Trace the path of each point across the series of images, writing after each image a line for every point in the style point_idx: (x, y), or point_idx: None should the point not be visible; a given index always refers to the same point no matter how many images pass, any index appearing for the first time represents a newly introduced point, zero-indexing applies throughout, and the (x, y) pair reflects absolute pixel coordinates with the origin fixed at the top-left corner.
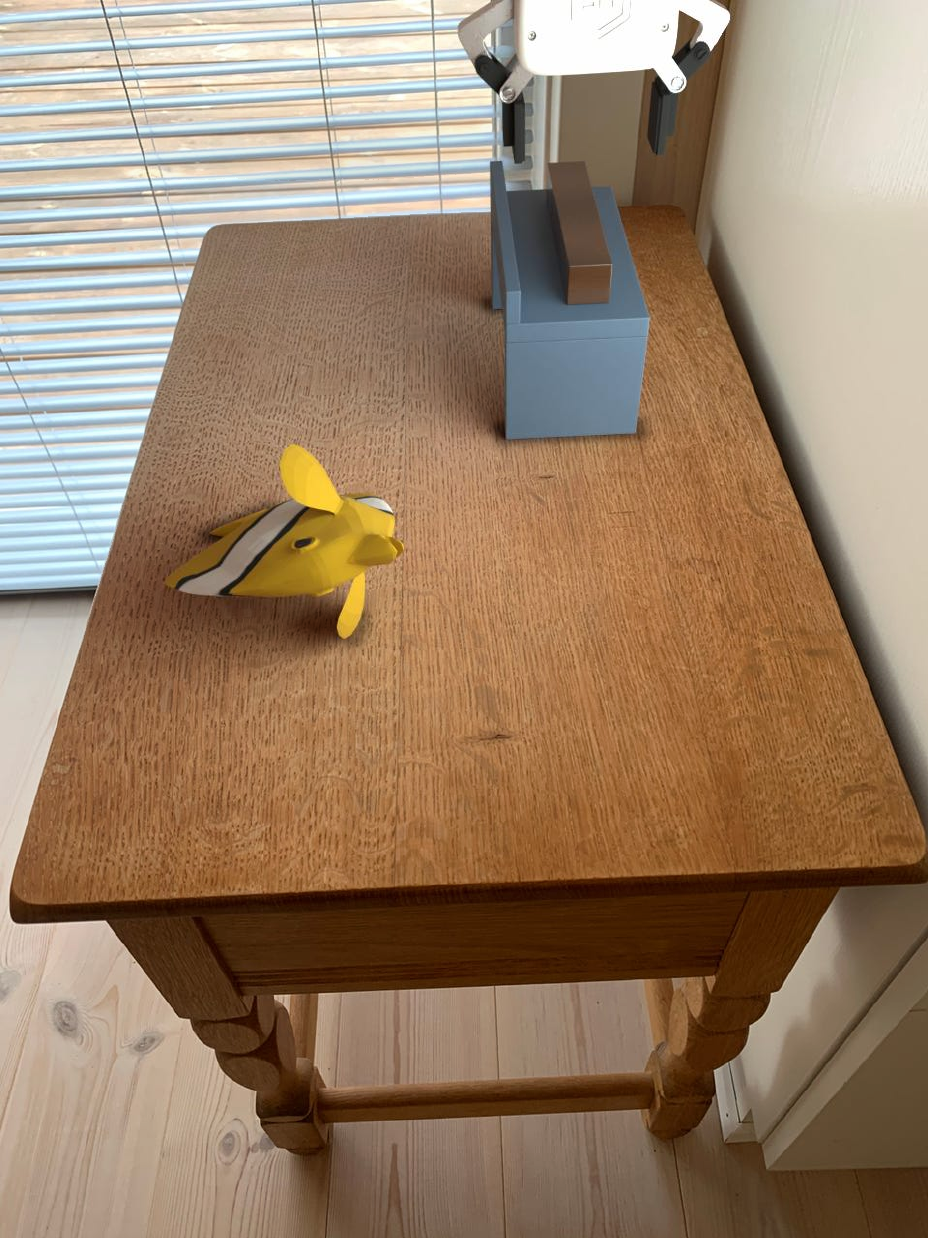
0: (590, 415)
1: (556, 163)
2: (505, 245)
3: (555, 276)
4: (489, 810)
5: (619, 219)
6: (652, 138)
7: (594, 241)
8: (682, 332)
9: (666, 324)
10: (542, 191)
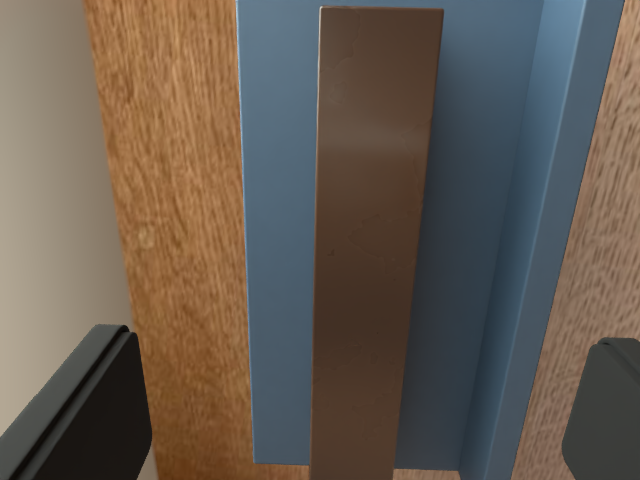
0: None
1: None
2: (570, 178)
3: None
4: None
5: (252, 353)
6: (129, 390)
7: (348, 139)
8: (174, 239)
9: (195, 260)
10: None
